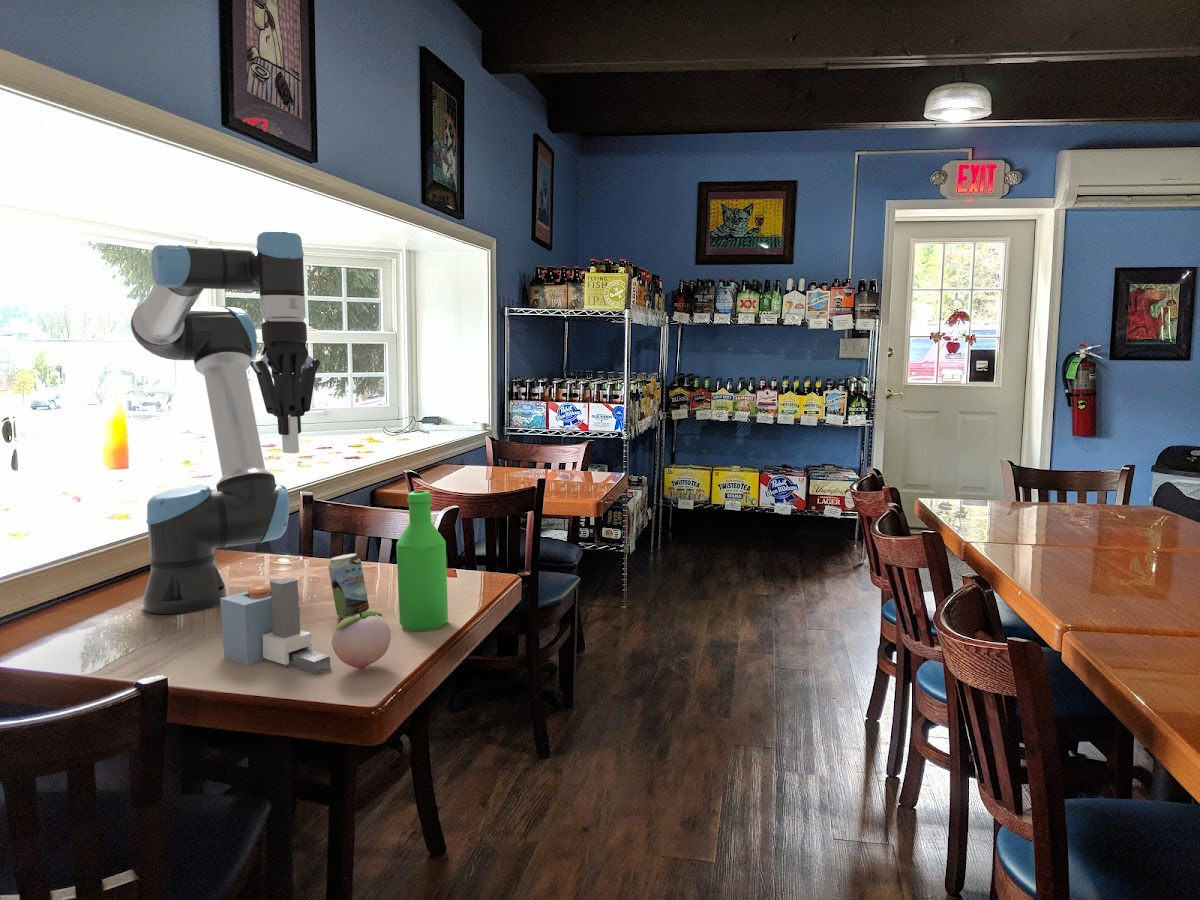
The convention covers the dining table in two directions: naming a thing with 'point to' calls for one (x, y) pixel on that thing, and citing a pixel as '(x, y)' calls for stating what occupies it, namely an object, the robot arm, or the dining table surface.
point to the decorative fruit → (361, 639)
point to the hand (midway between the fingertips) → (290, 452)
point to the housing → (245, 626)
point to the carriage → (285, 623)
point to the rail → (309, 661)
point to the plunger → (259, 591)
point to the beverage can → (348, 585)
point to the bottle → (421, 569)
